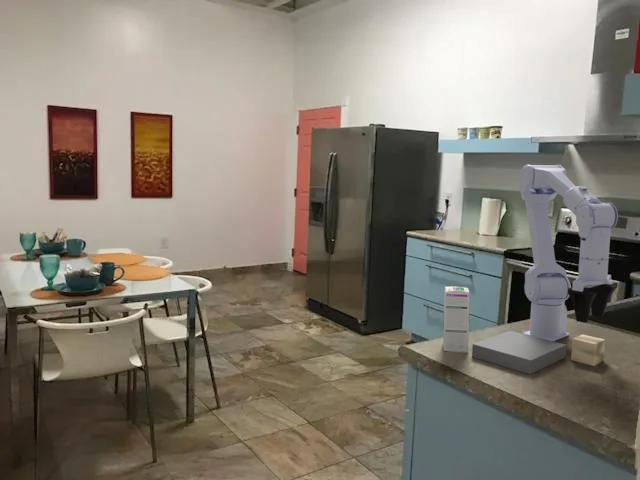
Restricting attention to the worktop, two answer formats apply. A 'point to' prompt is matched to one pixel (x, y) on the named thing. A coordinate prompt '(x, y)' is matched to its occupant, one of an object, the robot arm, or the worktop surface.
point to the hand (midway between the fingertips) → (589, 318)
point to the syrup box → (456, 319)
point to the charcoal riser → (519, 351)
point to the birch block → (588, 349)
